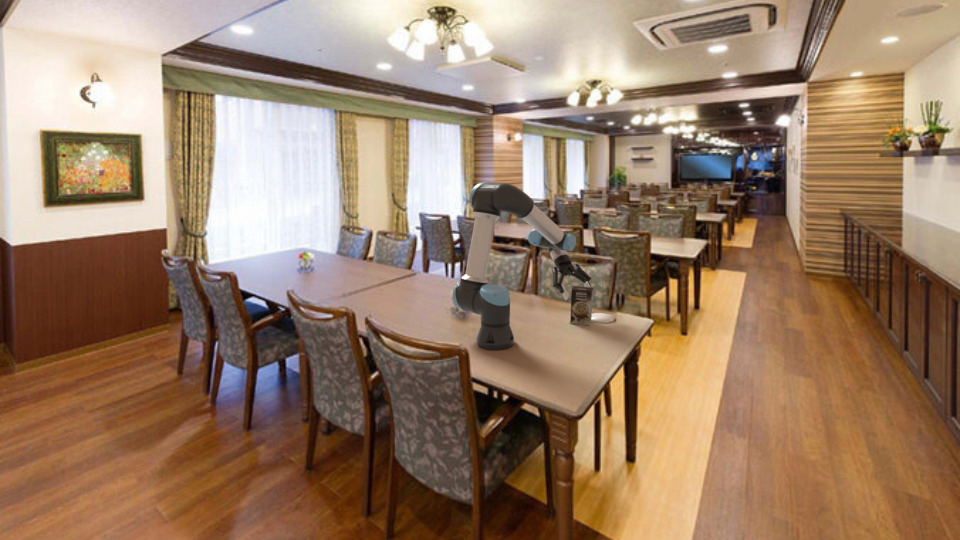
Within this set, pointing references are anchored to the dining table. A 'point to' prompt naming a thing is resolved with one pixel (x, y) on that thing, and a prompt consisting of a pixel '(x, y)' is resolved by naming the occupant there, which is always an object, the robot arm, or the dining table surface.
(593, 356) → the dining table surface
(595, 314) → the plate
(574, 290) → the coffee box
